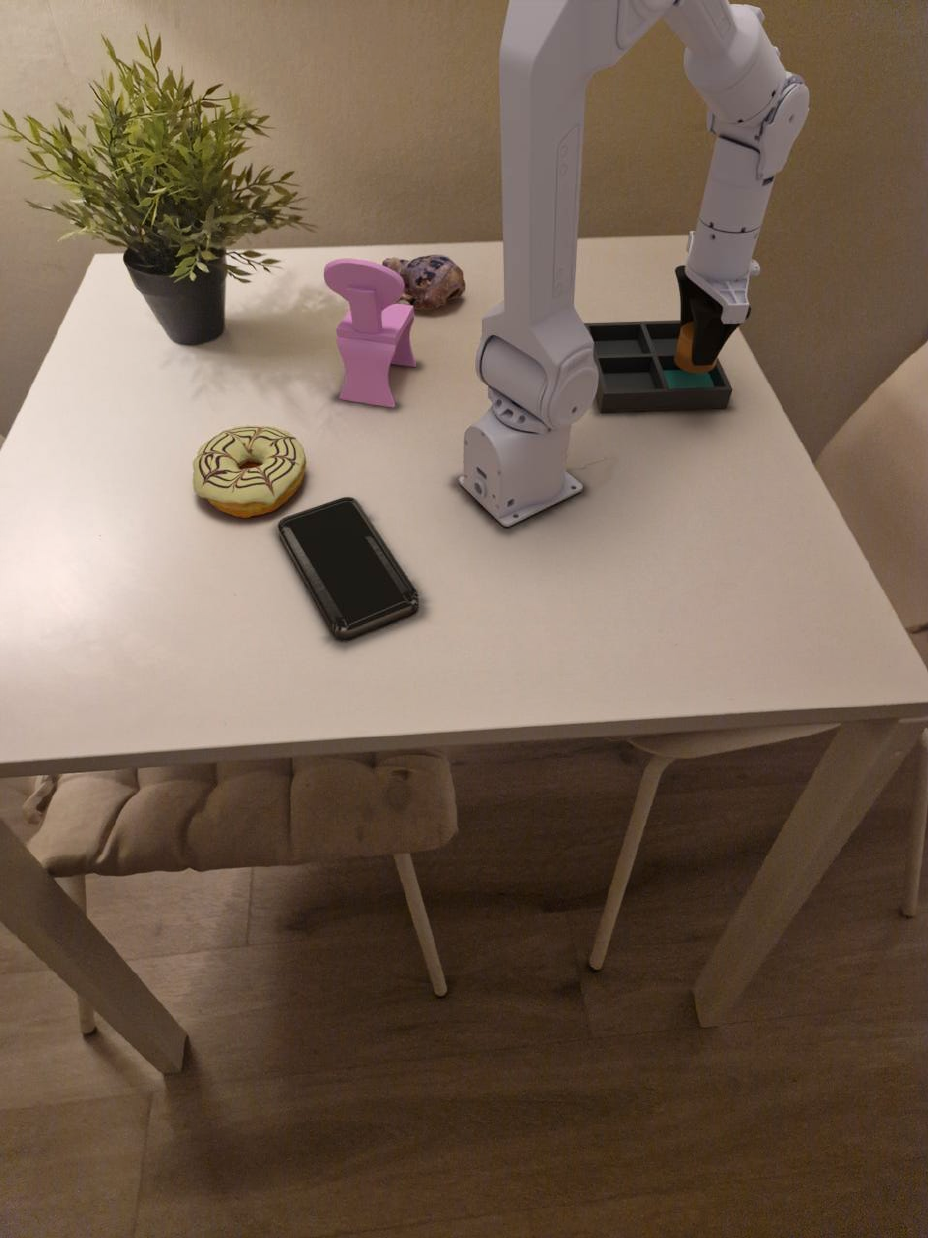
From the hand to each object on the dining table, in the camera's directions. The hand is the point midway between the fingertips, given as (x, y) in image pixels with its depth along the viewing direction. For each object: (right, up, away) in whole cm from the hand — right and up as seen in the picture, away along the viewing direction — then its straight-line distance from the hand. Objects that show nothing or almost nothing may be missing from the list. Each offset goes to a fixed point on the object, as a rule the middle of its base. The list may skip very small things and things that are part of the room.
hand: (696, 350), depth 84 cm
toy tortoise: (-30, +13, +17) cm, 36 cm away
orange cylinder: (0, -1, +1) cm, 1 cm away
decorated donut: (-45, -15, -6) cm, 48 cm away
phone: (-35, -24, -14) cm, 45 cm away
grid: (-3, -1, +6) cm, 7 cm away
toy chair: (-34, -2, +5) cm, 34 cm away
